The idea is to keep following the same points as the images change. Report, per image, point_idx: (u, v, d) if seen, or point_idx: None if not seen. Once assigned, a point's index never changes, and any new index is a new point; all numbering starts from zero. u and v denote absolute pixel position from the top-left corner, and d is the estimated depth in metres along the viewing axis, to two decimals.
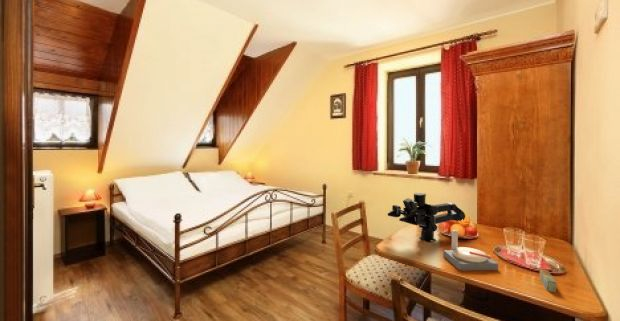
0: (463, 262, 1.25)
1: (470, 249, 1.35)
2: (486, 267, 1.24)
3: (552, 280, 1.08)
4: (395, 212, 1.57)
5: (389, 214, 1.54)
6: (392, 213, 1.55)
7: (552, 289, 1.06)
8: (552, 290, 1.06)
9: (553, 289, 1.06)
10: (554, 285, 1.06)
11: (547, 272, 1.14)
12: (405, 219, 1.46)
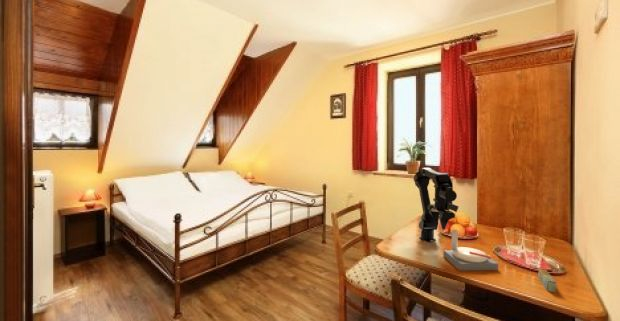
0: (463, 262, 1.25)
1: (470, 249, 1.35)
2: (486, 267, 1.24)
3: (552, 280, 1.08)
4: None
5: None
6: None
7: (552, 289, 1.06)
8: (552, 290, 1.06)
9: (553, 289, 1.06)
10: (554, 285, 1.06)
11: (546, 272, 1.14)
12: None
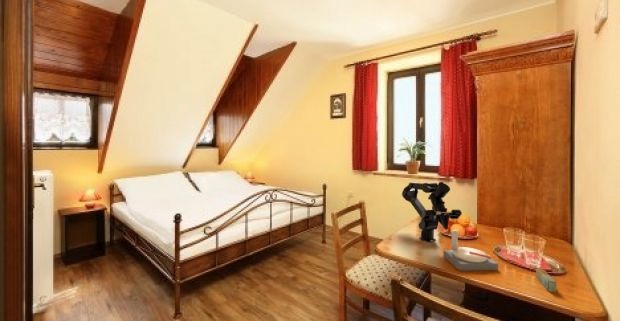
0: (463, 262, 1.25)
1: (470, 249, 1.35)
2: (486, 267, 1.24)
3: (552, 280, 1.08)
4: None
5: None
6: None
7: (552, 289, 1.06)
8: (552, 290, 1.06)
9: (553, 289, 1.06)
10: (554, 285, 1.06)
11: (544, 271, 1.15)
12: (442, 223, 1.43)
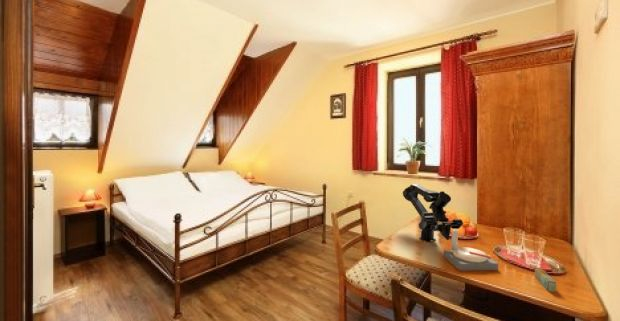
0: (463, 262, 1.25)
1: (470, 249, 1.35)
2: (486, 267, 1.24)
3: (551, 280, 1.08)
4: None
5: None
6: None
7: (552, 289, 1.06)
8: (552, 290, 1.06)
9: (553, 289, 1.06)
10: (554, 285, 1.06)
11: (543, 271, 1.15)
12: (443, 234, 1.42)
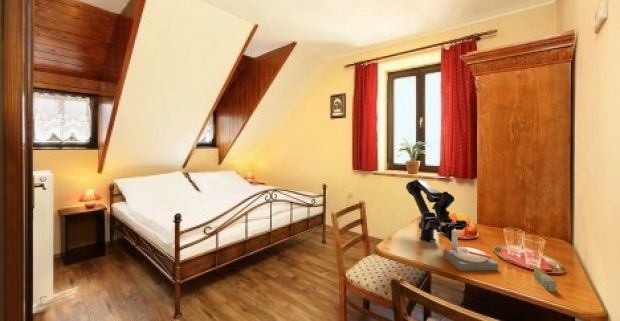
0: (463, 262, 1.25)
1: (470, 249, 1.35)
2: (486, 267, 1.24)
3: (551, 280, 1.08)
4: None
5: None
6: None
7: (552, 288, 1.06)
8: (552, 290, 1.06)
9: (553, 289, 1.06)
10: (554, 285, 1.06)
11: (542, 271, 1.15)
12: (447, 235, 1.38)
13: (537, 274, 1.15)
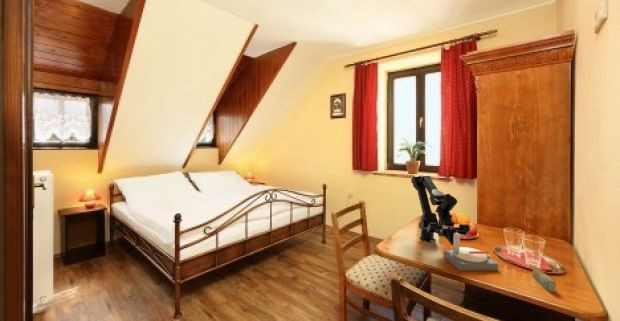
0: (463, 262, 1.25)
1: (462, 248, 1.36)
2: (486, 267, 1.24)
3: (550, 280, 1.08)
4: None
5: None
6: None
7: (551, 288, 1.06)
8: (552, 290, 1.06)
9: (553, 289, 1.06)
10: (554, 285, 1.06)
11: (541, 271, 1.15)
12: (448, 239, 1.33)
13: (536, 274, 1.15)
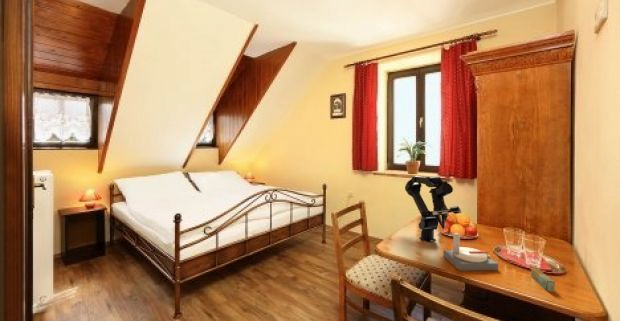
0: (463, 262, 1.25)
1: (462, 248, 1.36)
2: (486, 267, 1.24)
3: (549, 279, 1.08)
4: None
5: None
6: None
7: (551, 288, 1.06)
8: (551, 290, 1.06)
9: (552, 289, 1.06)
10: (553, 285, 1.06)
11: (539, 271, 1.15)
12: None
13: (535, 274, 1.15)
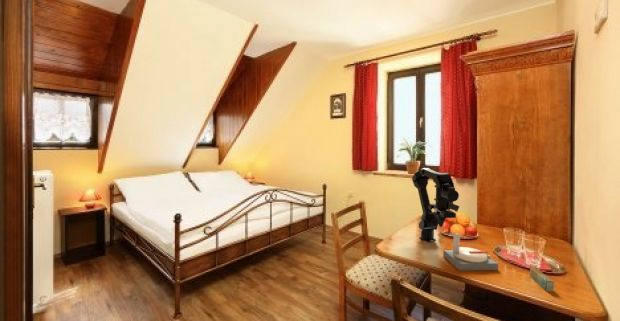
0: (463, 262, 1.25)
1: (462, 248, 1.36)
2: (486, 267, 1.24)
3: (549, 279, 1.08)
4: None
5: None
6: None
7: (550, 288, 1.07)
8: (550, 290, 1.07)
9: (551, 288, 1.07)
10: (552, 284, 1.06)
11: (538, 271, 1.15)
12: None
13: (533, 274, 1.15)
